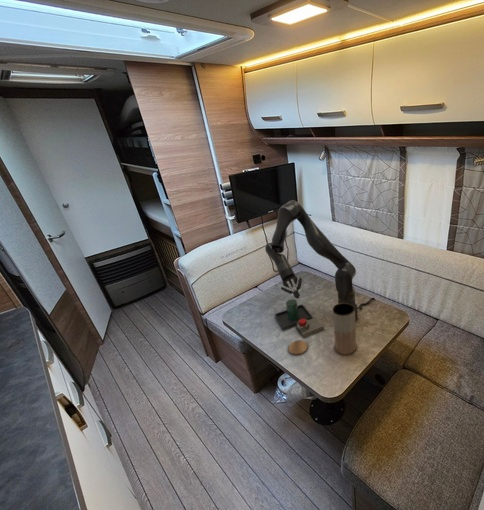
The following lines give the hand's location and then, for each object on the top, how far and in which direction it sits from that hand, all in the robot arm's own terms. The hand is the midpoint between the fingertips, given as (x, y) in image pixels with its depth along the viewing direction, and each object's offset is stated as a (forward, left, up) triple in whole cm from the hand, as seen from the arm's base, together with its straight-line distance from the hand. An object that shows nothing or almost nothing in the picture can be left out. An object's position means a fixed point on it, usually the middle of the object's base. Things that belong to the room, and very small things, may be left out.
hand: (298, 297), depth 148 cm
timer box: (-2, +8, -16) cm, 18 cm away
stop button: (+1, +6, -12) cm, 14 cm away
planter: (-11, +30, -16) cm, 36 cm away
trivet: (+9, +18, -16) cm, 26 cm away
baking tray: (+2, -6, -16) cm, 17 cm away
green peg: (+2, -6, -15) cm, 17 cm away
